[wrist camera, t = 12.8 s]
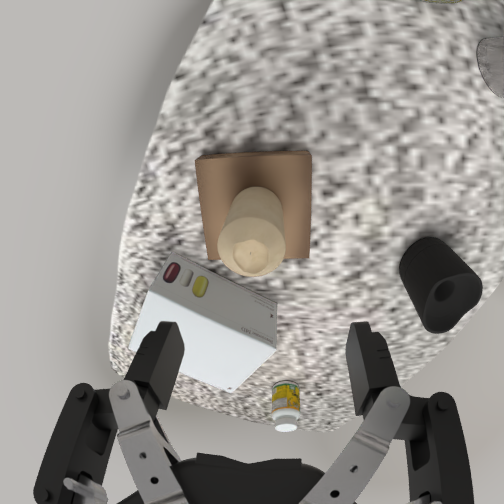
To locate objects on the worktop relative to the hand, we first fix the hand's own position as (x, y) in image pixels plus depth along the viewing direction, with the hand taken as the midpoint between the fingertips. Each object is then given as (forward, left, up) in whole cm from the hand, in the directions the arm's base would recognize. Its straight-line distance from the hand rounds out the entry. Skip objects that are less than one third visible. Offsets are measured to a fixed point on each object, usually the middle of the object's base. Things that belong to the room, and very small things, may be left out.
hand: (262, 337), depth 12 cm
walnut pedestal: (+2, +2, -22) cm, 22 cm away
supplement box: (+10, +18, -23) cm, 30 cm away
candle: (+1, +1, -20) cm, 20 cm away
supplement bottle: (-2, +40, -23) cm, 46 cm away
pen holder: (-22, +11, -23) cm, 34 cm away
